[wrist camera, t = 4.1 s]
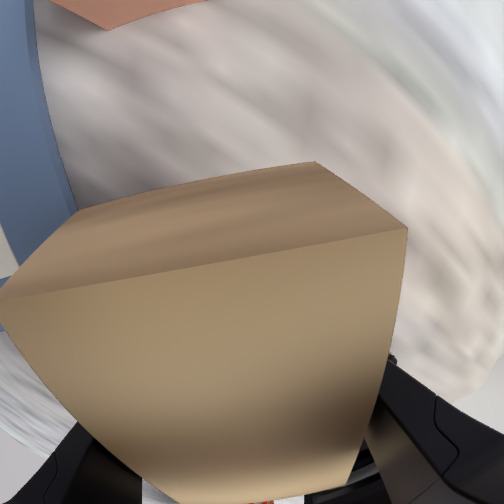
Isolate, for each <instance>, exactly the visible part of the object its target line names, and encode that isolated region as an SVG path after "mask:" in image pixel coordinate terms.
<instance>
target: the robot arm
mask: <svg viewBox="0 0 504 504" xmlns="http://www.w3.org/2000/svg"><path fill="white" fill-rule="evenodd" d="M396 364H397V359H396V358H395V356H394V355H390V356H388V358H387V362H386V366H385V370H384V374H383V378H382V382H381V385H380V389H379V392H378V396H377V399H376V403H375V406H374V409H373V412H372V415H371V419H370V422H369V425H368V428H367V431H366V433H365V436H364V439H363V442H362V445H361V447H360V450H359V453H358V455H357V458H356V460H355V463H354V465H353V468H352V470H351V473H350V475H349V477H348V480H347V482H346V484H345V485H343V486H339V487H335V488H332V489H328V490H324V491H319V492H315V493H311V494H306V495H304V504H504V434H502V433H500V432H498V431H496V430H494V429H492V428H490V427H489V426H487V425H485V424H483V423H481V422H479V421H477V420H475V419H474V418H472V417H470V416H468V415H467V414H465V413H463V412H461V411H460V410H458V409H457V408H455V407H454V406H452V405H451V404H449V403H448V402H446V401H445V400H444V399H442V398H441V397H440V396H438V395H437V396H436V394H435V393H434V392H432V391H431V390H430V389H428V388H427V387H426V386H424V385H423V384H421V383H420V382H419V381H417V380H416V379H415V378H413V377H412V376H410V375H409V374H408V373H406V372H405V371H404V370H402V369H401V368H399V367H398V366H397V365H396ZM3 504H142V477H141V476H139V475H138V474H137V473H135V472H134V471H133V470H132V469H130V468H129V467H128V466H126V465H125V464H124V463H123V462H122V461H120V460H119V459H118V458H117V457H116V456H114V455H113V454H112V453H111V452H110V451H109V450H107V449H106V448H105V447H104V446H103V445H102V444H101V443H100V442H99V441H97V440H96V439H95V438H94V437H93V436H92V435H91V434H90V433H89V432H88V431H87V430H86V429H85V428H84V427H83V426H82V425H81V424H80V423H79V422H78V421H77V423H76V424H75V425H74V426H73V428H72V429H71V430H70V431H69V433H68V434H67V435H66V436H65V438H64V439H63V440H62V442H61V443H60V444H59V445H58V447H57V448H56V449H55V451H54V452H53V453H52V454H51V455H50V457H49V458H48V459H47V460H46V462H45V463H44V464H43V465H42V467H41V468H40V469H39V470H38V471H37V472H36V474H34V476H33V477H32V478H31V479H30V480H29V481H28V482H27V483H26V484H25V485H24V486H23V487H22V488H21V489H20V490H19V491H18V493H17V494H16V495H15V496H14V497H13V498H12V499H10V500H9V501H7V502H5V503H3Z"/></svg>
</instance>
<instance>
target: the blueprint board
mask: <svg viewBox="0 0 504 504" xmlns="http://www.w3.org/2000/svg"><path fill="white" fill-rule="evenodd" d="M77 211H78V208H77V205H76V202H75V200H74V197H73V194H72V191H71V188H70V185H69V182H68V179H67V176H66V173H65V170H64V167H63V164H62V161H61V157H60V154H59V151H58V147H57V144H56V140H55V136H54V132H53V129H52V125H51V121H50V117H49V112H48V108H47V103H46V99H45V94H44V89H43V84H42V78H41V73H40V66H39V60H38V53H37V45H36V36H35V26H34V13H33V0H0V288H1V287H2V286H3V285H4V284H5V283H6V281H7V280H8V279H9V278H10V277H11V276H12V275H13V274H14V273H15V271H16V270H17V269H18V268H19V267H20V266H21V265H22V264H23V263H24V262H25V261H26V260H27V259H28V258H29V257H30V256H31V255H32V254H33V253H34V251H35V250H36V249H37V248H38V247H39V246H40V245H41V244H42V243H44V242H45V241H46V240H47V239H48V238H49V237H50V236H51V235H52V234H53V233H54V232H55V231H56V230H57V229H58V228H59V227H60V226H61V225H62V224H64V223H65V222H66V221H67V220H68V219H69V218H70V217H71V216H72V215H74V214H75V213H76V212H77ZM1 331H5V329H4V328H3V326H2V325H1V323H0V332H1Z"/></svg>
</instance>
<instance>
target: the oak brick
mask: <svg viewBox="0 0 504 504" xmlns="http://www.w3.org/2000/svg"><path fill="white" fill-rule="evenodd" d="M407 233H408V227H406V226H405V225H404V224H403V223H401V222H400V221H399V220H398V219H396V218H395V217H394V216H392V215H391V214H390V213H388V212H387V211H386V210H384V209H383V208H382V207H380V206H379V205H378V204H376V203H375V202H374V201H372V200H371V199H370V198H368V197H367V196H365V195H364V194H363V193H361V192H360V191H358V190H357V189H356V188H354V187H353V186H351V185H350V184H348V183H347V182H345V181H344V180H343V179H341V178H340V177H338V176H337V175H335V174H334V173H332V172H331V171H329V170H328V169H326V168H325V167H323V166H321V165H320V164H318V163H317V162H315V161H314V162H306V163H298V164H291V165H284V166H278V167H271V168H265V169H258V170H252V171H246V172H241V173H235V174H229V175H224V176H219V177H214V178H208V179H203V180H198V181H194V182H189V183H184V184H179V185H175V186H170V187H166V188H161V189H157V190H153V191H149V192H145V193H140V194H136V195H132V196H128V197H125V198H121V199H117V200H113V201H109V202H106V203H102V204H98V205H95V206H91V207H88V208H84V209H81V210H78V211H77V212H76V213H75V214H74V215H72V216H71V217H70V218H69V219H68V220H67V221H66V222H65V223H64V224H62V225H61V226H60V227H59V228H58V229H57V230H56V231H55V232H54V233H53V234H52V235H51V236H50V237H49V238H48V239H47V240H46V241H45V242H44V243H42V244H41V245H40V246H39V247H38V248H37V249H36V250H35V251H34V253H33V254H32V255H31V256H30V257H29V258H28V259H27V260H26V261H25V262H24V263H23V264H22V265H21V266H20V267H19V268H18V269H17V270H16V271H15V273H14V274H13V275H12V276H11V277H10V278H9V279H8V280H7V281H6V283H5V284H4V285H3V286H2V287H1V288H0V323H1V325H2V326H3V328H4V329H5V331H6V332H7V334H8V336H9V337H10V339H11V340H12V342H13V343H14V344H15V346H16V347H17V349H18V350H19V352H20V353H21V354H22V356H23V357H24V359H25V360H26V361H27V363H28V364H29V365H30V367H31V368H32V369H33V371H34V372H35V373H36V374H37V376H38V377H39V378H40V380H41V381H42V382H43V383H44V384H45V386H46V387H47V388H48V389H49V390H50V392H51V393H52V394H53V395H54V396H55V397H56V399H57V400H58V401H59V402H60V403H61V404H62V405H63V406H64V407H65V408H66V410H67V411H68V412H69V413H70V414H71V415H72V416H73V417H74V418H75V419H76V420H77V421H78V422H79V423H80V424H81V425H82V426H83V427H84V428H85V429H86V430H87V431H88V432H89V433H90V434H91V435H92V436H93V437H94V438H95V439H96V440H97V441H99V442H100V443H101V444H102V445H103V446H104V447H105V448H106V449H107V450H109V451H110V452H111V453H112V454H113V455H114V456H116V457H117V458H118V459H119V460H120V461H122V462H123V463H124V464H125V465H126V466H128V467H129V468H130V469H132V470H133V471H134V472H135V473H137V474H138V475H139V476H141V477H142V478H143V479H145V480H146V481H147V482H149V483H150V484H151V485H153V486H154V487H156V488H157V489H159V490H160V491H161V492H163V493H164V494H166V495H167V496H169V497H170V498H172V499H174V500H175V501H177V502H178V503H180V504H247V503H256V502H265V501H272V500H278V499H285V498H290V497H296V496H301V495H306V494H311V493H315V492H319V491H324V490H328V489H332V488H335V487H339V486H343V485H345V484H346V482H347V480H348V477H349V475H350V473H351V470H352V468H353V465H354V463H355V460H356V458H357V455H358V453H359V450H360V447H361V445H362V442H363V439H364V436H365V433H366V431H367V428H368V425H369V422H370V419H371V415H372V412H373V409H374V406H375V403H376V399H377V396H378V392H379V389H380V385H381V382H382V378H383V374H384V370H385V366H386V362H387V358H388V354H389V350H390V345H391V341H392V336H393V331H394V326H395V321H396V316H397V310H398V304H399V298H400V292H401V285H402V278H403V271H404V263H405V254H406V244H407Z"/></svg>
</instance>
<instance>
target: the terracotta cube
mask: <svg viewBox="0 0 504 504" xmlns="http://www.w3.org/2000/svg"><path fill="white" fill-rule="evenodd" d="M49 1H51V2H53V3H55V4H57V5H59V6H61V7H63V8H65V9H67V10H69V11H71V12H73V13H75V14H77V15H79V16H81V17H83V18H85V19H87V20H88V21H90V22H92V23H94V24H96V25H97V26H99V27H101V28H103V29H105V30H106V31H109V30H111V29H114V28H116V27H119V26H121V25H124V24H126V23H129V22H132V21H135V20H137V19H140V18H143V17H146V16H149V15H152V14H156V13H159V12H162V11H165V10H169V9H172V8H176V7H180V6H184V5H188V4H192V3H196V2H201V1H205V0H49Z"/></svg>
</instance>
